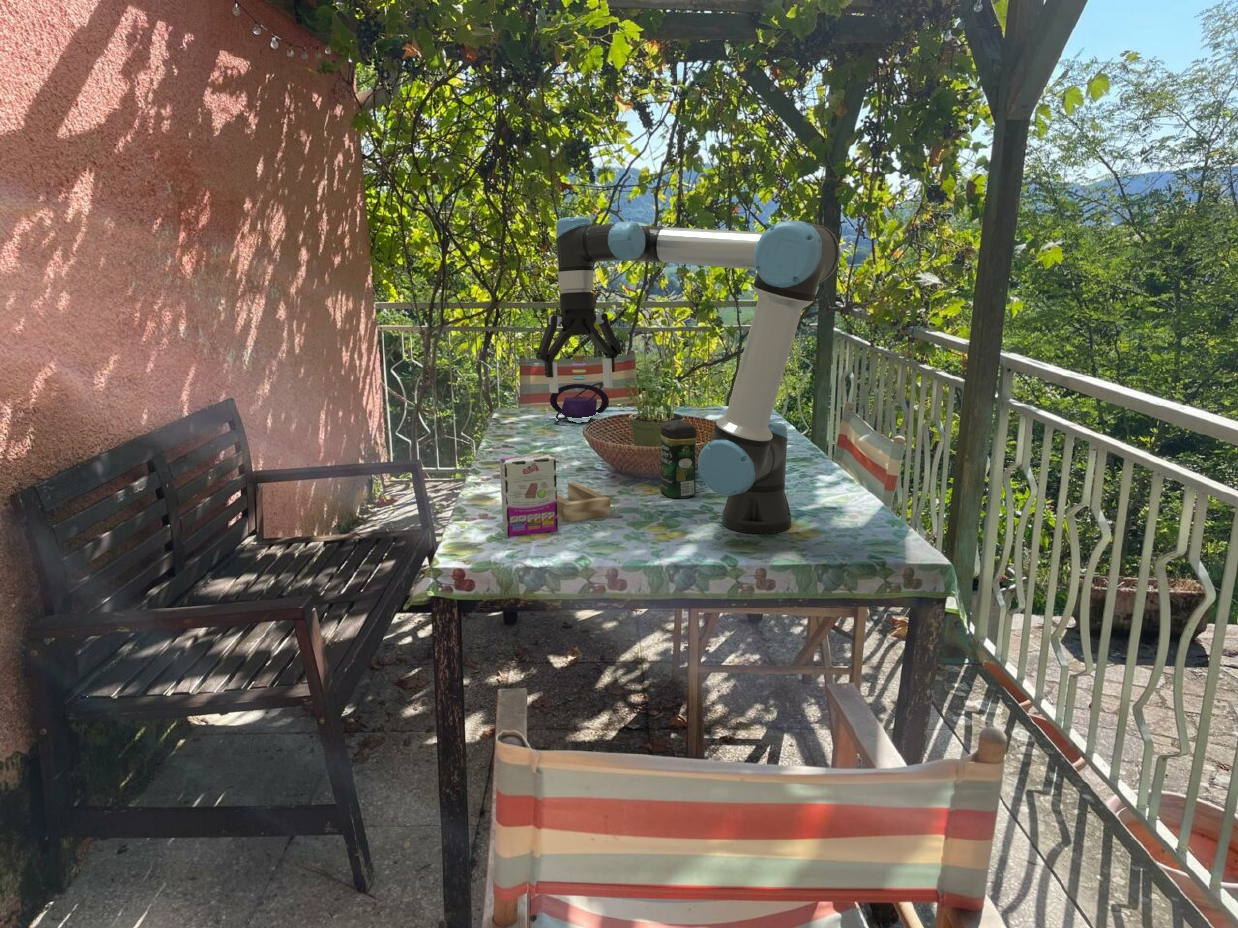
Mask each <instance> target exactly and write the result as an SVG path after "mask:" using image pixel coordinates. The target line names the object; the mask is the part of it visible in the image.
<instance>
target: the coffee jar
mask: <svg viewBox="0 0 1238 928" xmlns="http://www.w3.org/2000/svg"><path fill="white" fill-rule="evenodd" d="M696 445H697V428H696V427H695V426H694V425H692V424H690V423H687V422H685V421H682V420H681V419H671V420H665V422H663V423H662V424H661V426H660V478H659V479H660V481H659V483H660V484H659V486H660V487H659V489H660V490H659V491H661V493H662V494H664V495H665V496H667V497H669V498H675V499H676V498H678V499H688V498H690V497H692V496H696V495H695V494H696V491H697V490H696V489H697V488H696V483H697V482H696Z"/></svg>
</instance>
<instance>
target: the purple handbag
mask: <svg viewBox="0 0 1238 928" xmlns="http://www.w3.org/2000/svg"><path fill="white" fill-rule="evenodd" d="M573 357H574V362H572V363H571V365H572V366H573V367H574V368H575V369H572V370H571V372H572V373H573V374H586V373H587V369H584V368H583V367H586V366H587V363H586V362H584V357H585V356H584V354H583V353H574V355H573ZM576 367H577V368H576ZM582 368H583V369H582ZM571 378H572V380H574V381H583V380H586V379H587V376H585V375H573V376H571ZM596 386H599V387H596ZM602 388H604V382H602V381H600V382H597V383H594V384H592V385H589V384H585V383H572V384H566V385H563V386H561V387H558V393H551V395H550V397H549V404H550V406H551V407H552V408H553V410H554V411H556V412H557V413H556V415H555V416H554V418H555V417H556V418H557V419H558V420H559V421H558V422H560V421H564V420H565V419H567V417H572V418H582V417H589V416H593V415H595V414H596V412H598V413H600V414H602V413H603V412H604V411H606V410H607V409H608V407H609V403H610V399H609V397H608V394H607V393H606V392H604V391H603V390H602ZM572 389H582V390H581V391H580V392H578V393H577V394H576V395H575V396H571V397H570V396H568V397H565V396H564V400H563V402H562V406H561V407H560V405H558V397H559V396H560V395H561V394H562V393H564V392H566V391H568V390H572ZM588 390H589V391H592V392H594V394H592V397H590V396H580V395H581V394H584V392H586V391H588ZM597 395H598V397H600V399H601V403H600V405H599V407H598V408H597V403H598V398H595V397H596V396H597ZM561 413H562V414H563V415H562V414H561ZM559 415H562V416H563V417H561V418H559ZM593 417H594V416H593Z"/></svg>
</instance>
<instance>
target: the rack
mask: <svg viewBox="0 0 1238 928" xmlns="http://www.w3.org/2000/svg"><path fill="white" fill-rule="evenodd" d="M567 498H568V499H569V500H571V501H572V502H570V501H568V500H566V499H564V497H563V496H561V495H558V494H557V516H558V518H560V519H561V520H563V521H565V522H573V521H579V520H586V519H592V518H598V517H604V516H610V509H611V498H610V497H608V496H606V495H604V494H601V493H600V492H598V491H595V490H593V489H591V488H589V487H586V486H585V485H583V484H580V483H579V482H576V481H573V482H572V481H571V482H568V483H567Z"/></svg>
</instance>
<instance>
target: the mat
mask: <svg viewBox="0 0 1238 928" xmlns="http://www.w3.org/2000/svg"><path fill="white" fill-rule="evenodd" d="M563 498H564V497H563ZM564 499H566V500H568V501H570V502H572V501H571V500H569V499H568V497H565V498H564ZM619 517H624V515H623V514H621V513H620V512H617V511H615V510H613V509H611V508H610V516H604V517H598V518H592V519H586V520H579V521H573V522H565V521H563V520H561V519H560V518H558V517H557V519H558V527H562V526H568V525H569V526H570V525H575V524H580V523H587V522H592V521H593V522H594V521H601V520H607V519H612V518H619Z"/></svg>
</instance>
